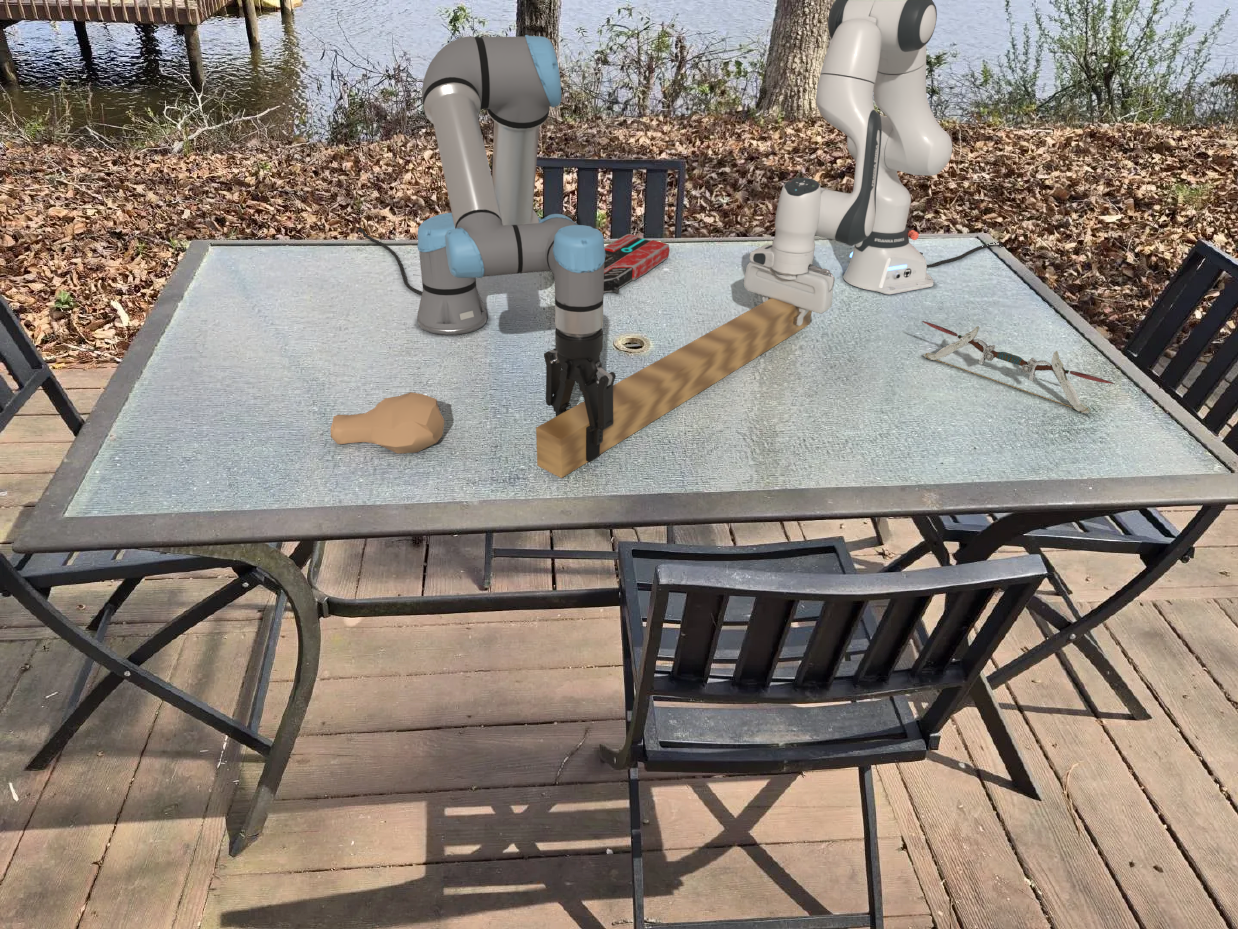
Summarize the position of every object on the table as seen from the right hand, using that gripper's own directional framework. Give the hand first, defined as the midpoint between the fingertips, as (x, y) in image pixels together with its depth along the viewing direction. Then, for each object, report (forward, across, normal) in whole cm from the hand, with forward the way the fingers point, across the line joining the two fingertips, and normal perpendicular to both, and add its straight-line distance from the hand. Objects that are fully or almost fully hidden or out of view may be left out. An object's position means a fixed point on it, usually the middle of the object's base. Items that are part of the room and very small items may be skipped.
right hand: (783, 319), depth 192 cm
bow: (+4, -45, -12) cm, 47 cm away
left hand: (+2, 0, +67) cm, 67 cm away
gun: (+4, +53, -5) cm, 53 cm away
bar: (+2, 0, +34) cm, 34 cm away
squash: (+4, +28, +85) cm, 90 cm away
